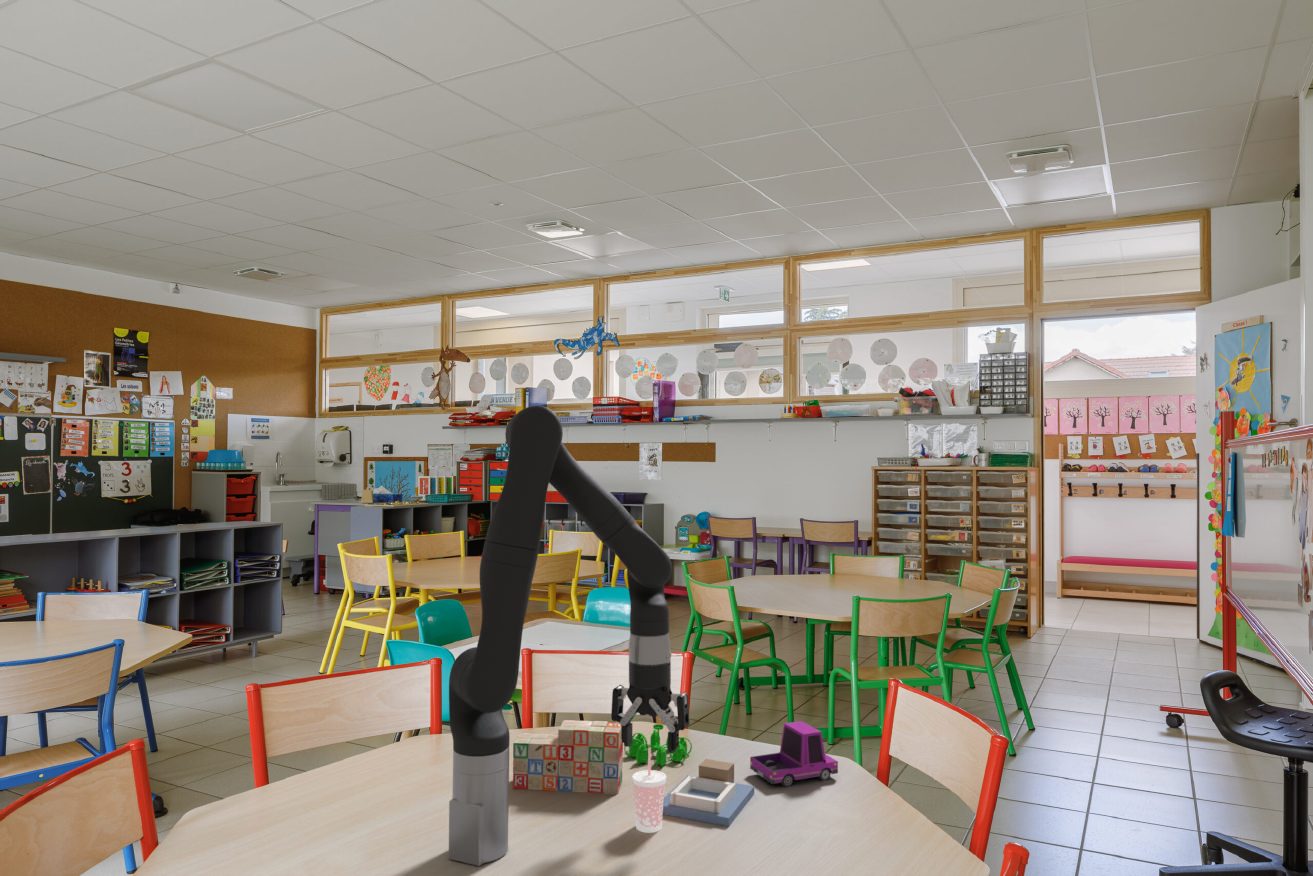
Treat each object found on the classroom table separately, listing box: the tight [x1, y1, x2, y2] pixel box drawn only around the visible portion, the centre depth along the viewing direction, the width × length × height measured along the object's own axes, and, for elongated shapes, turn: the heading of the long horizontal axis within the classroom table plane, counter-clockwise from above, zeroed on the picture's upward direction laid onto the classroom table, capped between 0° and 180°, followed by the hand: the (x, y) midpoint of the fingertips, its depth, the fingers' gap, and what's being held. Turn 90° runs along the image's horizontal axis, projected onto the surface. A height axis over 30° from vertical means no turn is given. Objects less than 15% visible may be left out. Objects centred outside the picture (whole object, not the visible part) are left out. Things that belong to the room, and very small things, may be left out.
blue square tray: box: [663, 758, 755, 827], centre depth 160 cm, size 16×14×6 cm
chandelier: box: [623, 723, 693, 768], centre depth 185 cm, size 15×15×7 cm
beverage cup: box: [631, 746, 667, 834], centre depth 150 cm, size 6×6×14 cm
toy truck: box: [749, 720, 839, 788], centre depth 174 cm, size 11×16×10 cm
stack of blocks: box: [512, 719, 624, 795], centre depth 168 cm, size 21×6×12 cm, turn 85°
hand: (650, 748), depth 150 cm, fingers open, 8 cm apart
